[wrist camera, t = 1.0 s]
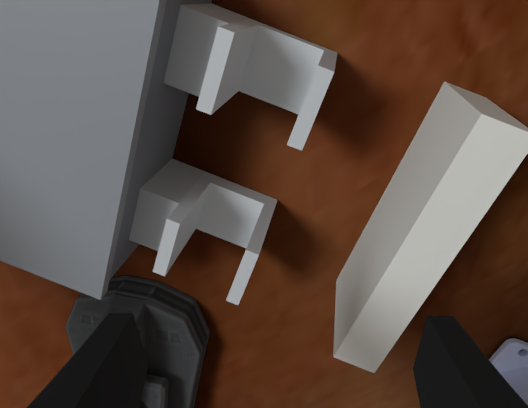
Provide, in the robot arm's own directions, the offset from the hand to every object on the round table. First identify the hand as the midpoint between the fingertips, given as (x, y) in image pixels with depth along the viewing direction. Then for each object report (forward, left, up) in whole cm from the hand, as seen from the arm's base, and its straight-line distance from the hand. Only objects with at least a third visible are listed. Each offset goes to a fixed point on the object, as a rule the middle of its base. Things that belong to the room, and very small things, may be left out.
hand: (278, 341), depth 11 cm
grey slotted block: (+7, 0, -12) cm, 14 cm away
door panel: (-5, 0, -13) cm, 14 cm away
